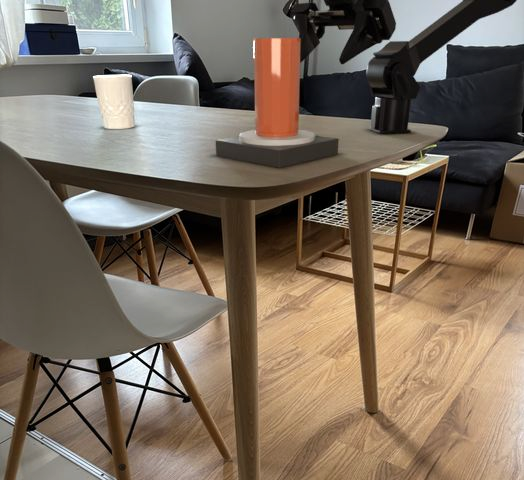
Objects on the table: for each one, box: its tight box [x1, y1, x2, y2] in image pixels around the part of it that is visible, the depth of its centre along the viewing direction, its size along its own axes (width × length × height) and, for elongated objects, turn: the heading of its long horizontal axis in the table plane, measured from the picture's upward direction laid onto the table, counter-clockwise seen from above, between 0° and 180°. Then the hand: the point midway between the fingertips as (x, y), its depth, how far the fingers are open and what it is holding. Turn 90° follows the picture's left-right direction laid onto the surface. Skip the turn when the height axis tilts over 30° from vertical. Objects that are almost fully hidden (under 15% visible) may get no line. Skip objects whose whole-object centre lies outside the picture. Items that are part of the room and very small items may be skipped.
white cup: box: [92, 74, 136, 130], centre depth 110 cm, size 8×8×10 cm
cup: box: [253, 37, 301, 137], centre depth 78 cm, size 7×7×13 cm
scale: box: [215, 129, 340, 169], centre depth 82 cm, size 14×14×3 cm
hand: (318, 61), depth 86 cm, fingers open, 9 cm apart
